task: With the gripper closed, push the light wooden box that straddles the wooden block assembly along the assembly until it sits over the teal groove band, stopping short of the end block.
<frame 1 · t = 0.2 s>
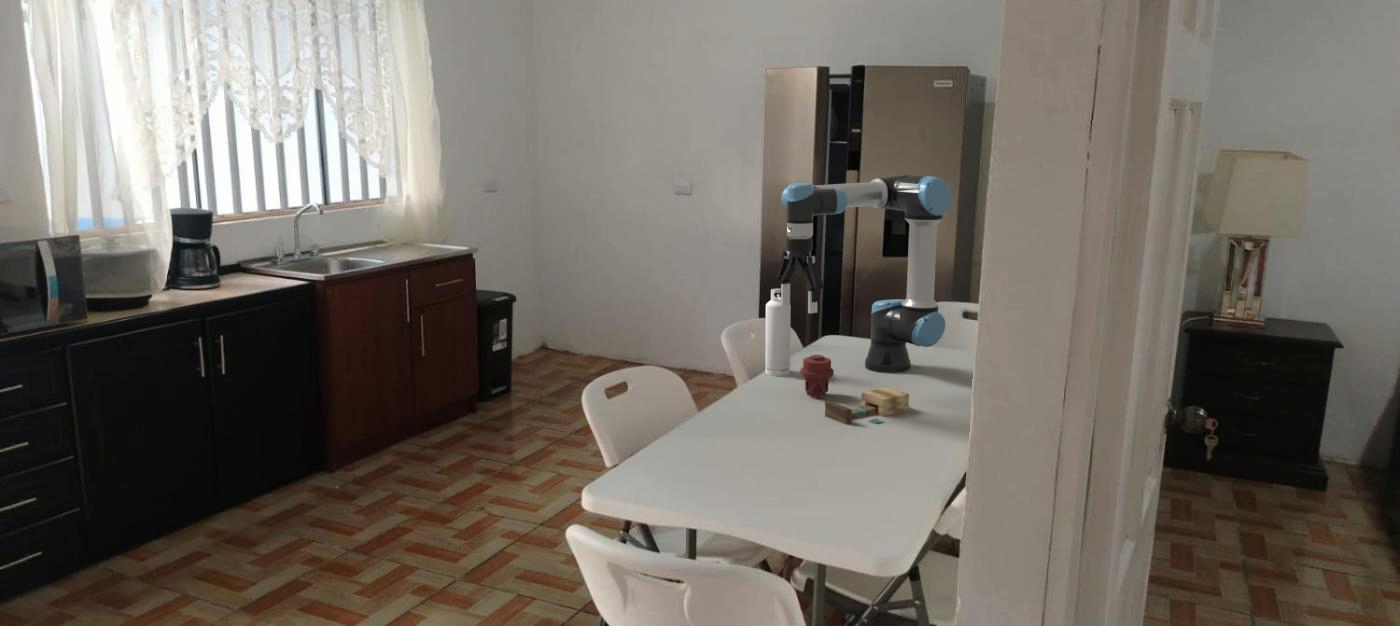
hand: (798, 309, 286), 28 cm above the table, fingers open, 13 cm apart
mechanical component: (816, 396, 296), on the table
wooden block assembly: (869, 412, 278), on the table
light wooden box: (884, 409, 281), resting in wooden block assembly
bottle: (777, 373, 322), on the table
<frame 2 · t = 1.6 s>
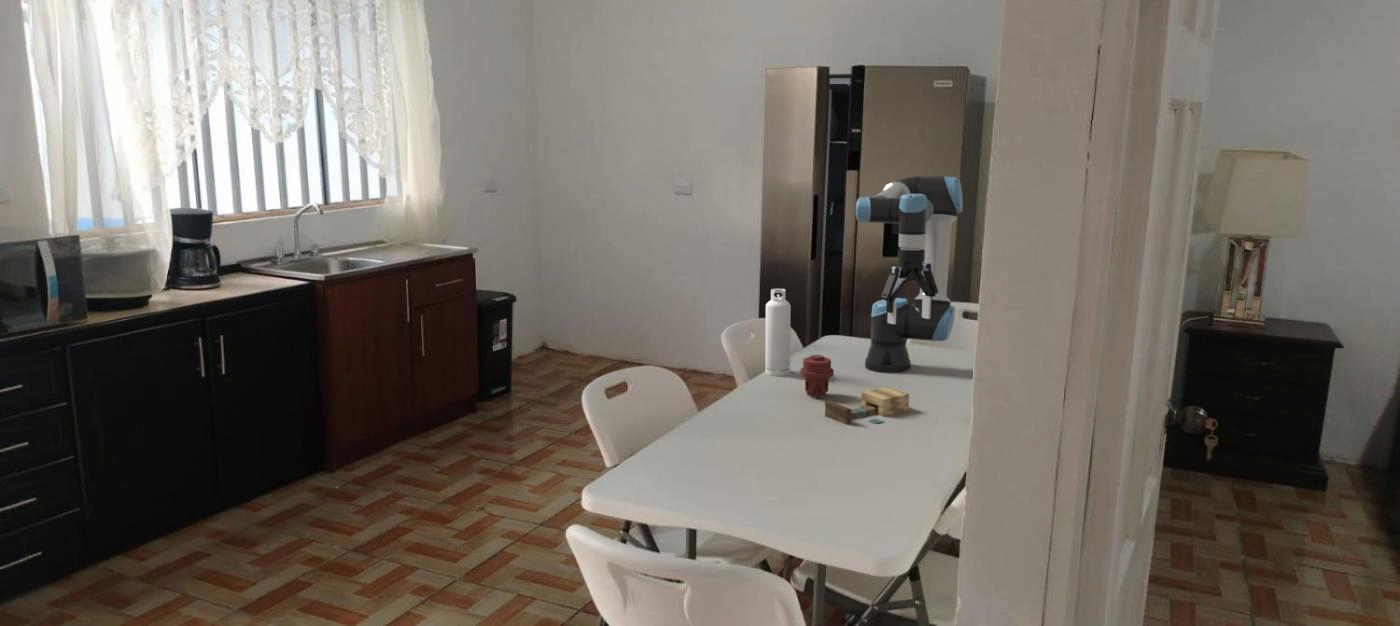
hand: (909, 320, 282), 25 cm above the table, fingers open, 13 cm apart
nothing on the table moved.
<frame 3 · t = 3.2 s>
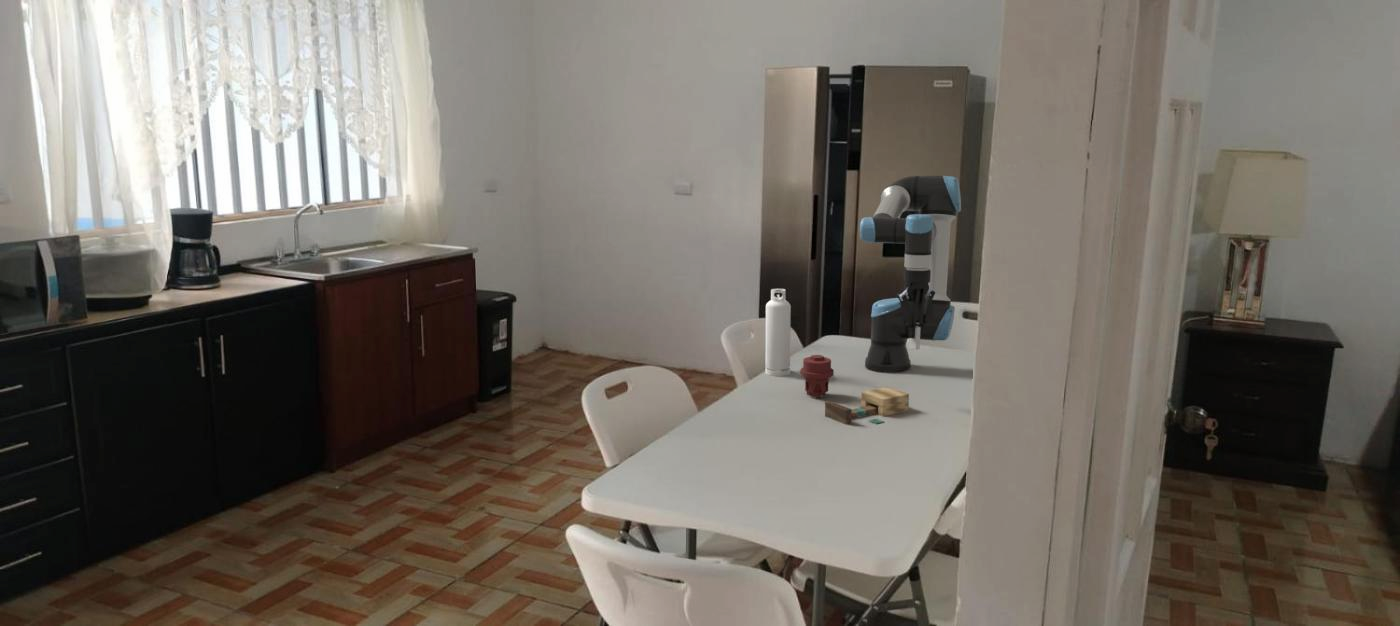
hand: (914, 348, 284), 17 cm above the table, fingers closed
nothing on the table moved.
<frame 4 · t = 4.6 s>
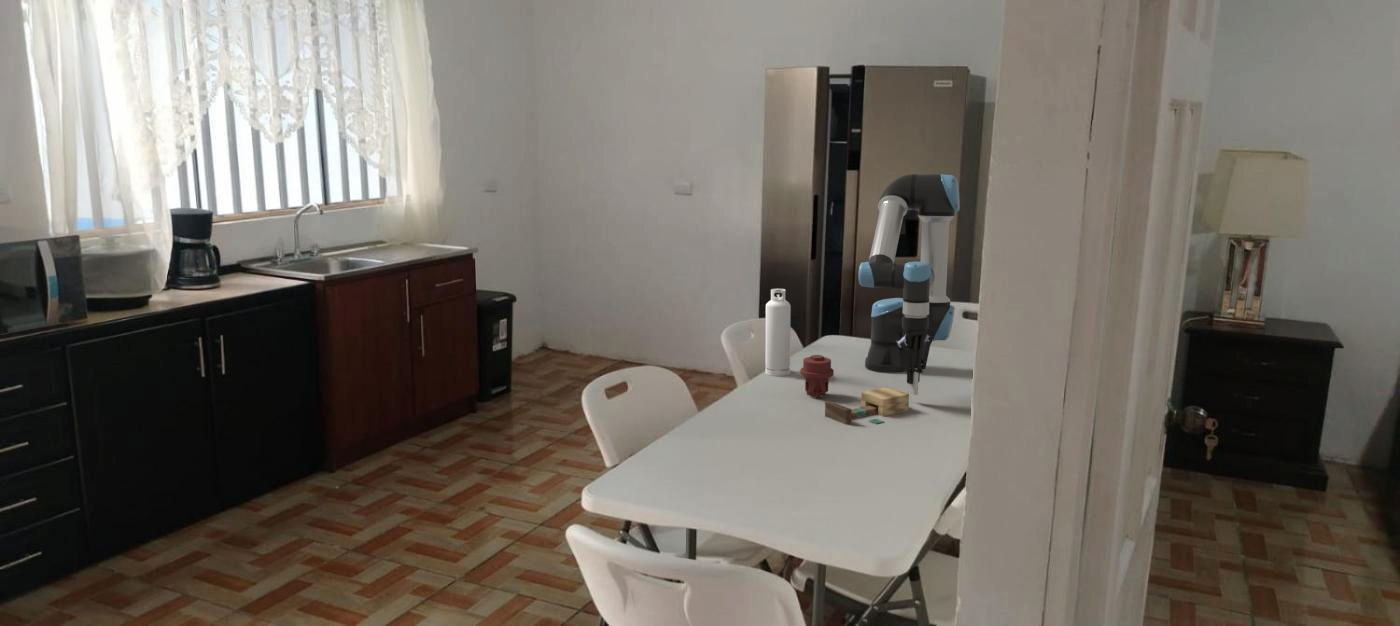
hand: (912, 393, 287), 3 cm above the table, fingers closed
nothing on the table moved.
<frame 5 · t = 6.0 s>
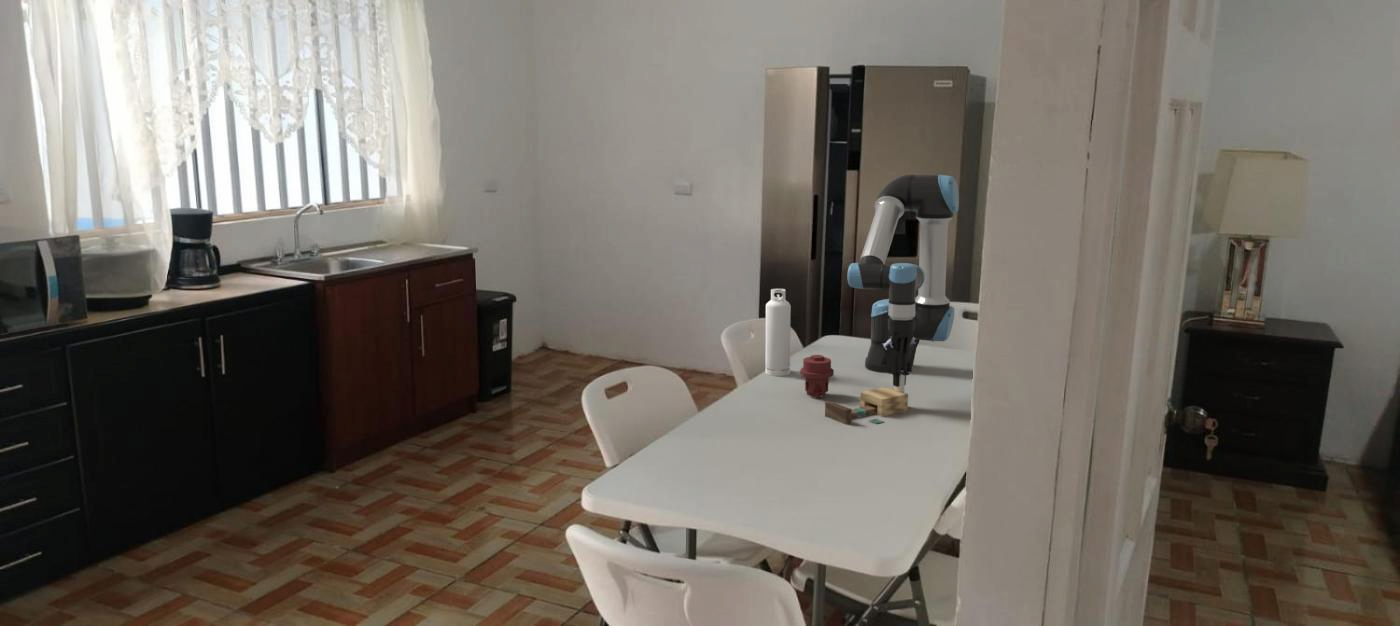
hand: (898, 396, 284), 3 cm above the table, fingers closed
light wooden box: (883, 409, 281), resting in wooden block assembly, touching gripper
everything else where it was.
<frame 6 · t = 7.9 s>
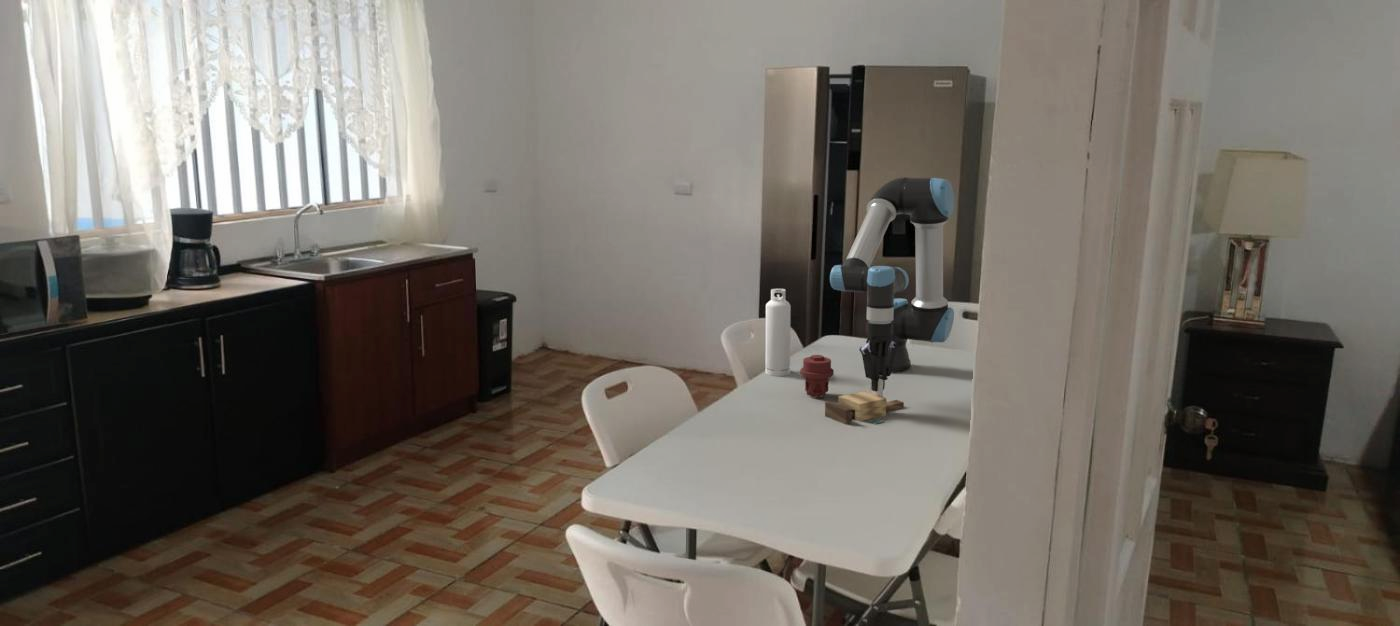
hand: (877, 401, 279), 3 cm above the table, fingers closed
light wooden box: (861, 414, 277), resting in wooden block assembly, touching gripper
everything else where it was.
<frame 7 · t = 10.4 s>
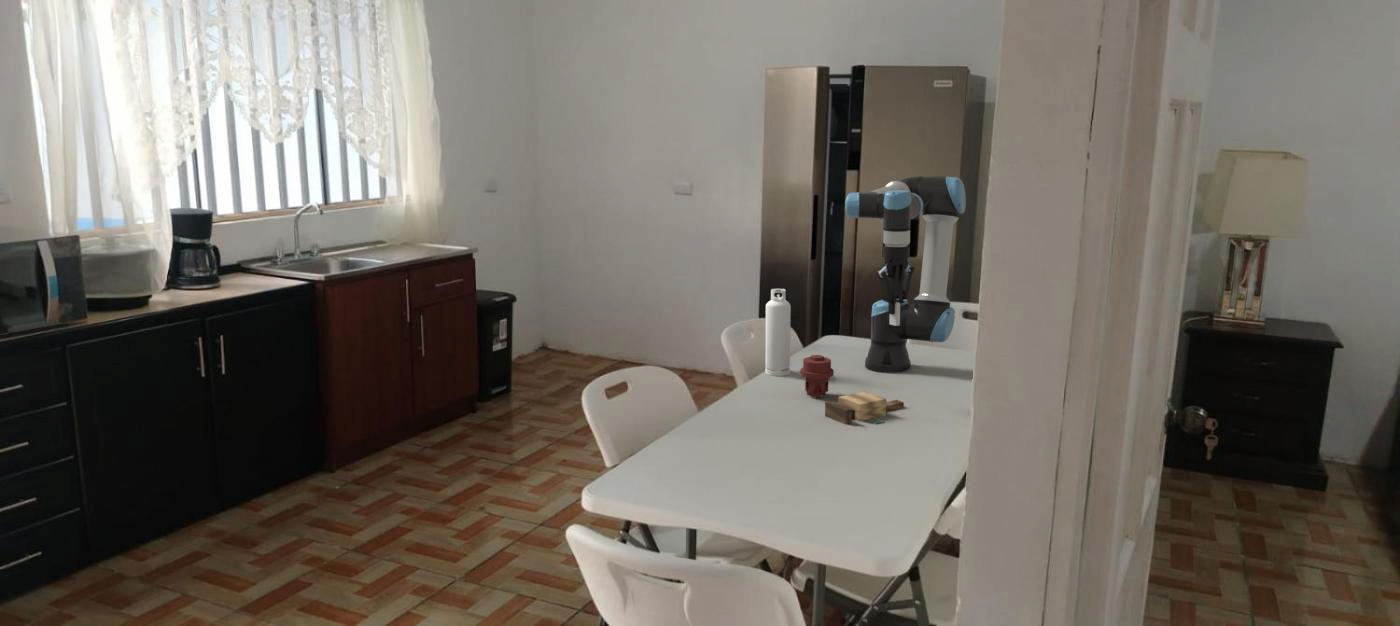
hand: (894, 324, 284), 24 cm above the table, fingers closed
light wooden box: (861, 414, 277), resting in wooden block assembly
everything else where it was.
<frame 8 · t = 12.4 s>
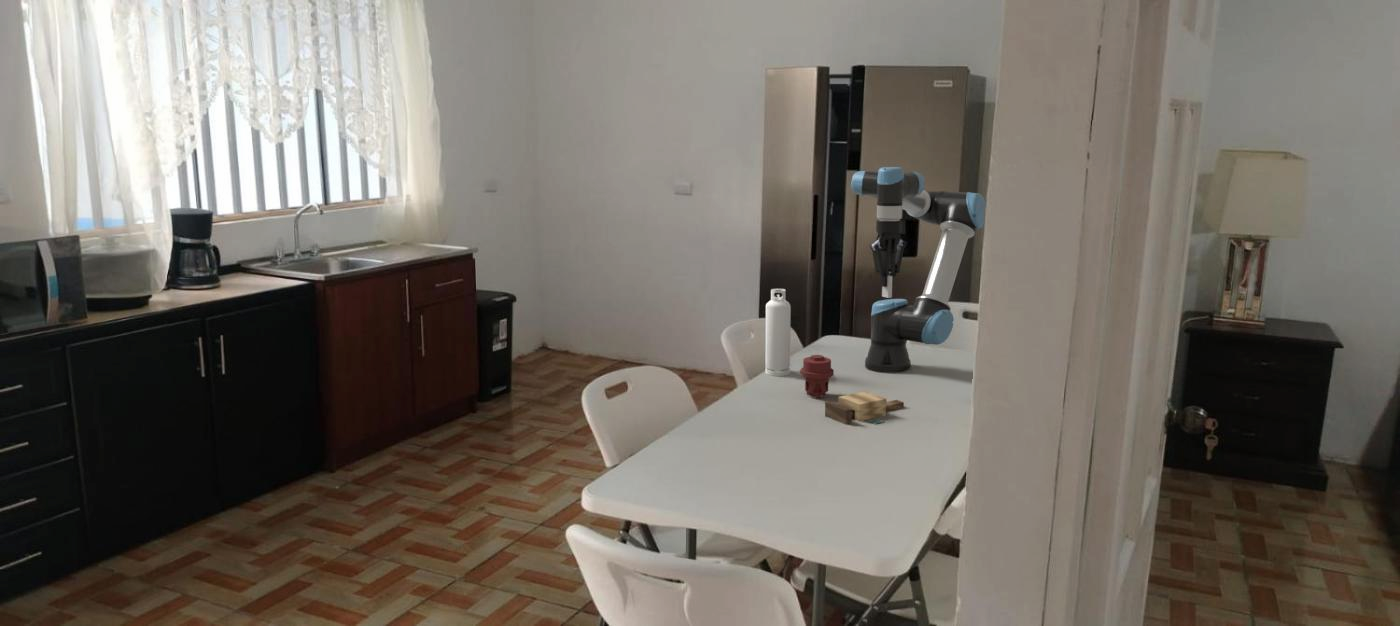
hand: (886, 296, 295), 29 cm above the table, fingers closed
nothing on the table moved.
at the end: light wooden box inside the target area (0.8 cm from its centre), resting in wooden block assembly; light wooden box moved 8.7 cm from its start; light wooden box tilted 0° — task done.
